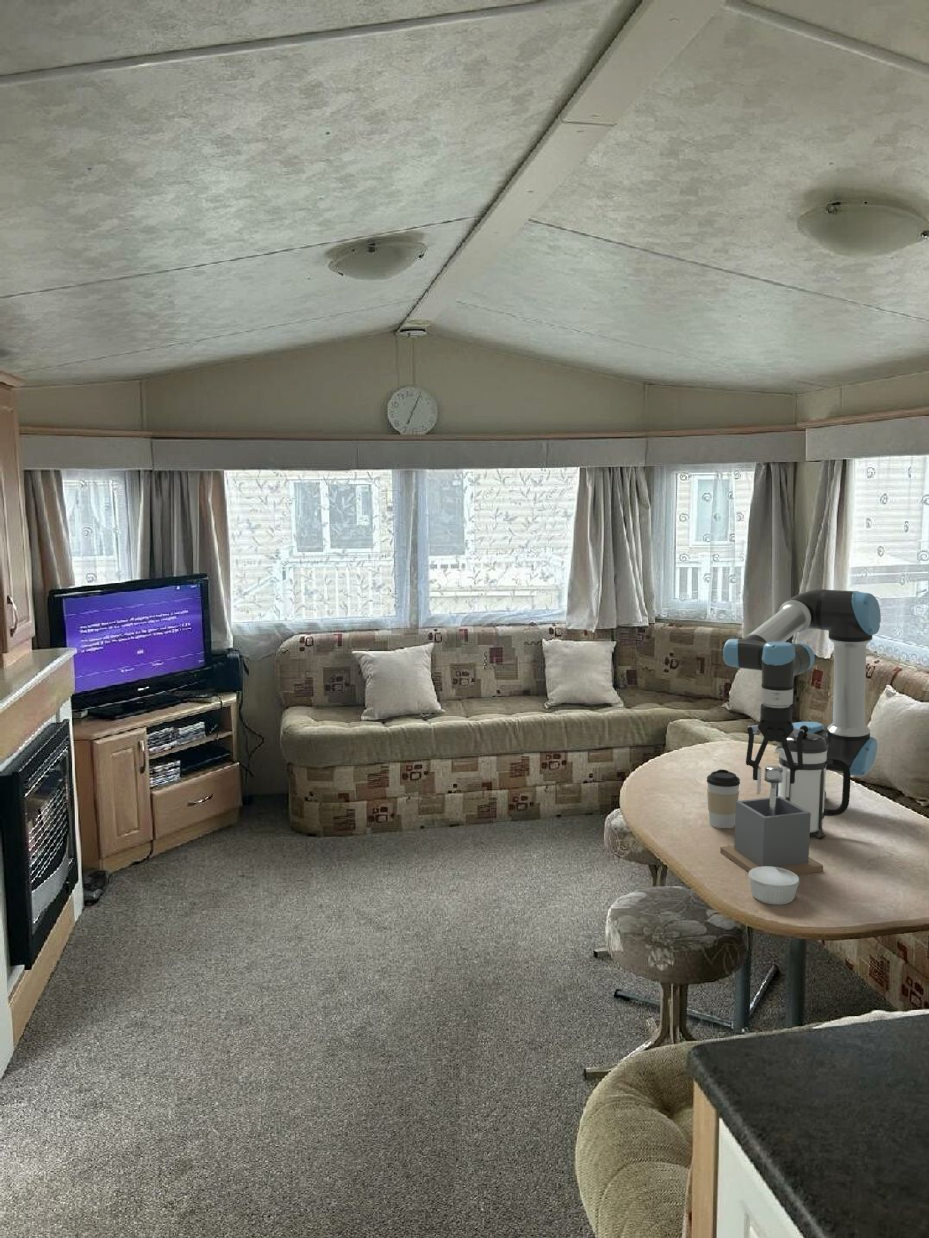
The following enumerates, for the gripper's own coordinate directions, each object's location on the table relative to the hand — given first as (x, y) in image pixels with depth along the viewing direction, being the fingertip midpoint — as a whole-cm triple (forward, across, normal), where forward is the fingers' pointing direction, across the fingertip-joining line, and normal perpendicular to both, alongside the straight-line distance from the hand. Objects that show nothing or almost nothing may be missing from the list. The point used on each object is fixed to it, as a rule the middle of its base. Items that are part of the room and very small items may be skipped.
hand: (773, 793), depth 242 cm
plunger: (+15, 0, 0) cm, 15 cm away
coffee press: (+18, +8, +25) cm, 32 cm away
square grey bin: (+18, 0, 0) cm, 18 cm away
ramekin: (+18, +1, -21) cm, 28 cm away
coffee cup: (+18, -14, +23) cm, 33 cm away
